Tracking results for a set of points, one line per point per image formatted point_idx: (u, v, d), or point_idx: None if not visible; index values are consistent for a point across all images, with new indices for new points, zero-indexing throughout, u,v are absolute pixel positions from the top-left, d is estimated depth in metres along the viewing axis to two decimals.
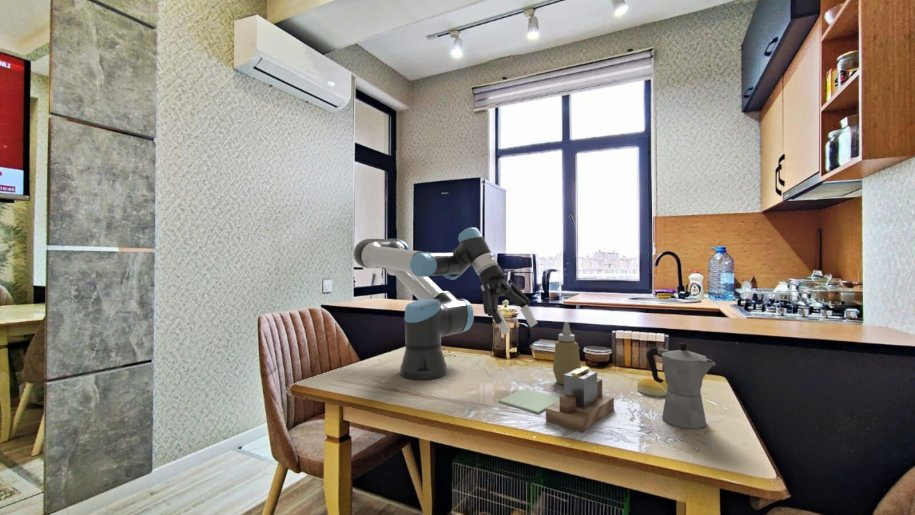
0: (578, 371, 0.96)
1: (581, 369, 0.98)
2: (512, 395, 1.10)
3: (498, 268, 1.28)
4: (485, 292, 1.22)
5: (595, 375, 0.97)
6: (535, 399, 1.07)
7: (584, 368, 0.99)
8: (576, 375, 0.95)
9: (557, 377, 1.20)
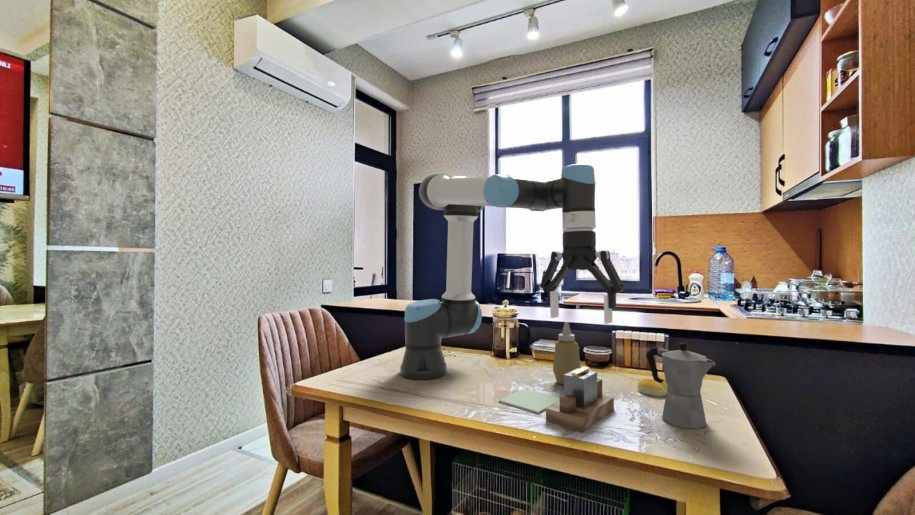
0: (578, 371, 0.96)
1: (581, 369, 0.98)
2: (512, 395, 1.10)
3: (572, 238, 0.94)
4: None
5: (595, 375, 0.97)
6: (535, 399, 1.07)
7: (584, 368, 0.99)
8: (576, 375, 0.95)
9: (557, 377, 1.20)
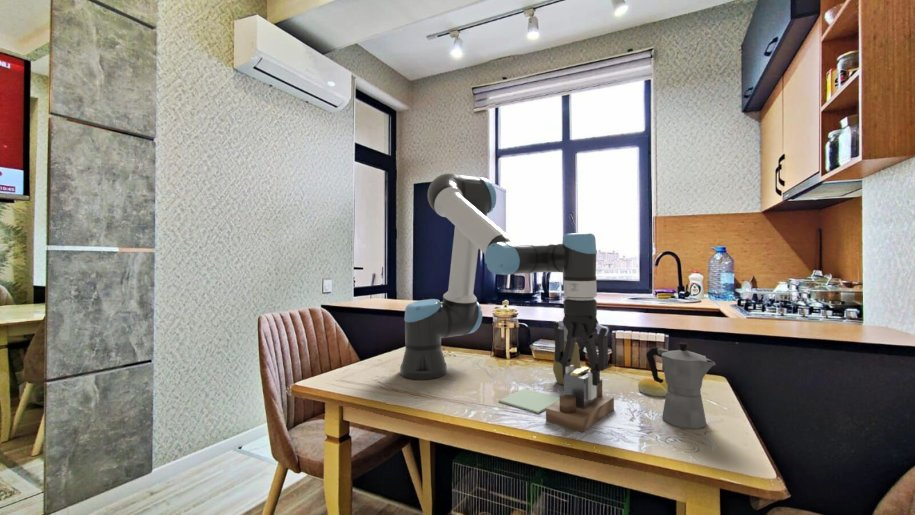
0: (578, 371, 0.96)
1: (581, 369, 0.98)
2: (512, 395, 1.10)
3: (573, 307, 0.94)
4: None
5: None
6: (535, 399, 1.07)
7: (584, 368, 0.99)
8: (576, 375, 0.95)
9: (557, 377, 1.20)
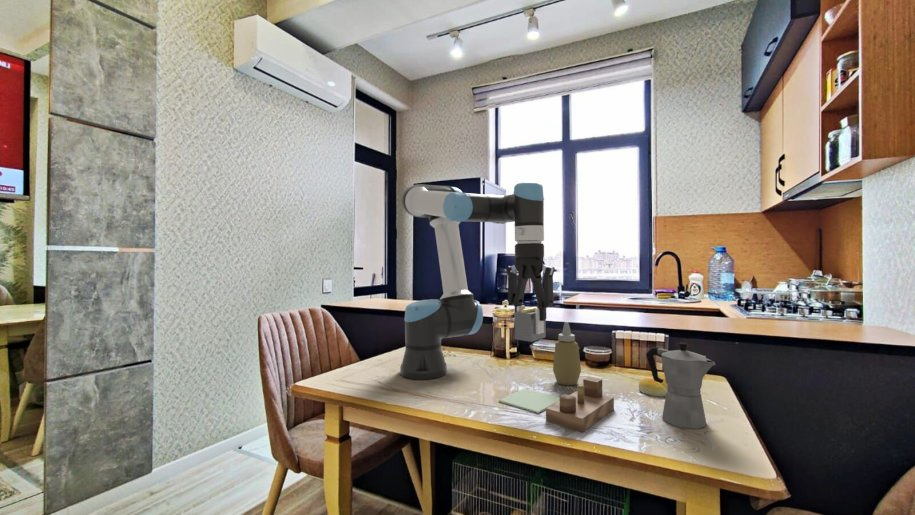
0: (527, 309, 1.05)
1: (530, 308, 1.07)
2: (512, 395, 1.10)
3: (521, 249, 1.04)
4: None
5: None
6: (535, 399, 1.07)
7: (534, 307, 1.08)
8: (525, 311, 1.04)
9: (557, 377, 1.20)
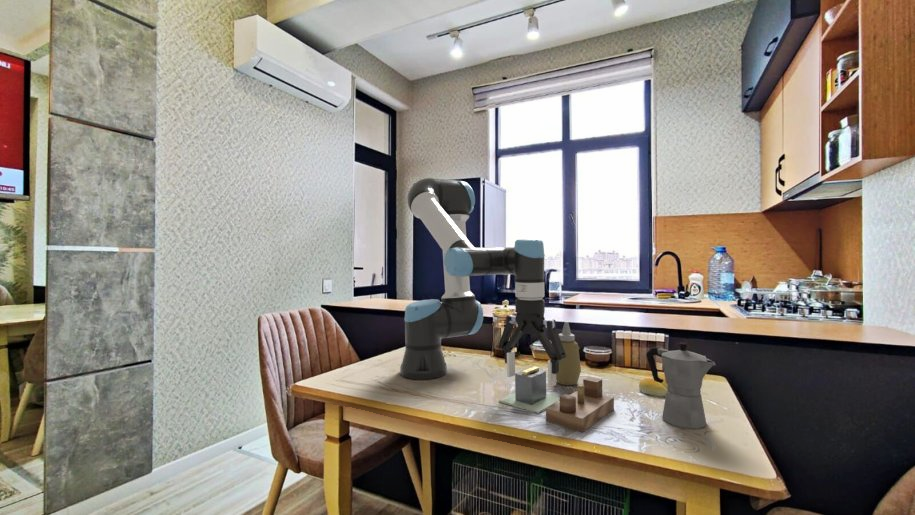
0: (528, 370, 1.06)
1: (531, 368, 1.07)
2: (512, 395, 1.10)
3: (522, 306, 1.04)
4: None
5: (544, 373, 1.07)
6: None
7: (534, 367, 1.08)
8: (525, 374, 1.04)
9: (557, 377, 1.20)
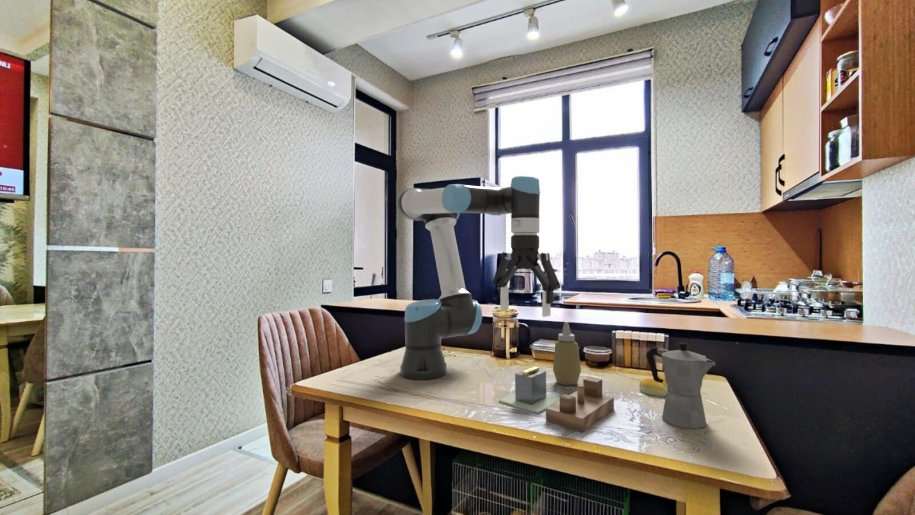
0: (528, 370, 1.06)
1: (531, 368, 1.07)
2: (512, 395, 1.10)
3: (517, 241, 1.07)
4: None
5: (544, 373, 1.07)
6: None
7: (534, 367, 1.08)
8: (525, 374, 1.04)
9: (557, 377, 1.20)
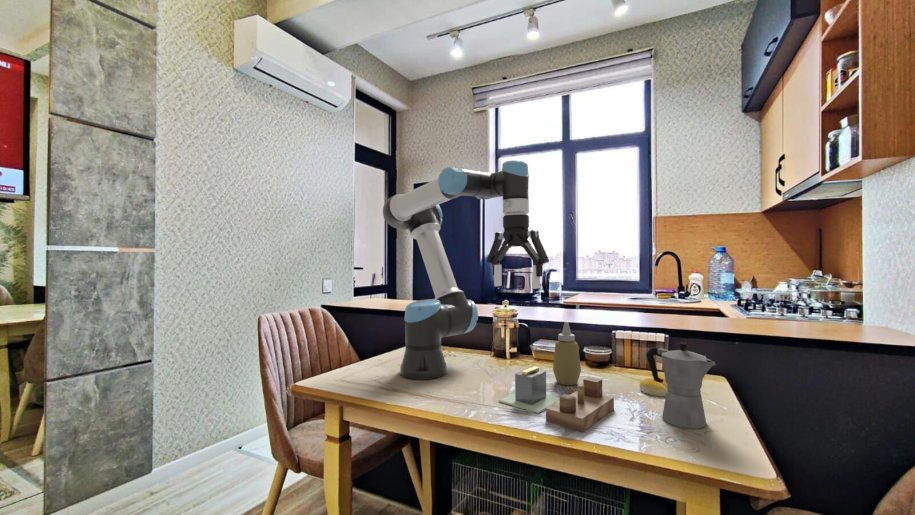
0: (528, 370, 1.06)
1: (531, 368, 1.07)
2: (512, 395, 1.10)
3: (508, 220, 1.17)
4: None
5: (544, 373, 1.07)
6: None
7: (534, 367, 1.08)
8: (525, 374, 1.04)
9: (557, 377, 1.20)
